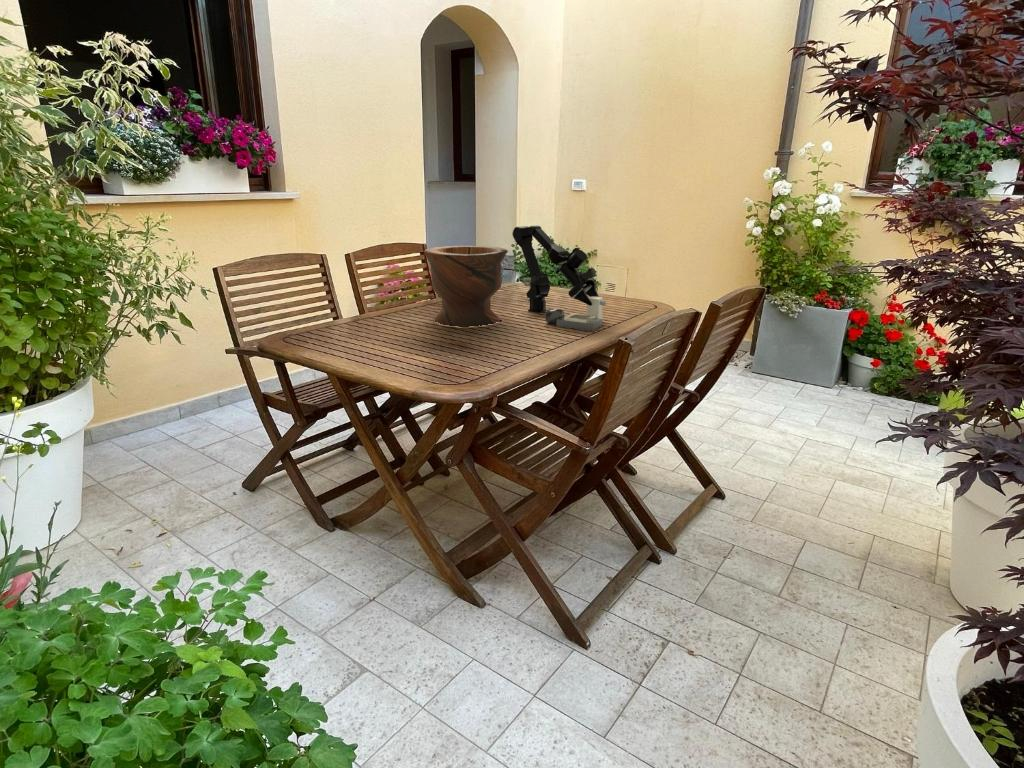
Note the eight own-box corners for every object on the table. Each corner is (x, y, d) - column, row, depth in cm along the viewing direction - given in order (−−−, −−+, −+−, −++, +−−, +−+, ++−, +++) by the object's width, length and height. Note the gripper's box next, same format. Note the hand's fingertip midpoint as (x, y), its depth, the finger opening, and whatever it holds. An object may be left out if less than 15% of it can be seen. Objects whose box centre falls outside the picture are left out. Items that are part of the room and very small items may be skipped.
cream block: (586, 321, 258) (587, 298, 255) (590, 319, 262) (591, 296, 259) (602, 323, 255) (603, 299, 252) (606, 320, 259) (607, 297, 256)
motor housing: (543, 325, 252) (543, 310, 250) (553, 320, 260) (553, 306, 258) (593, 331, 242) (593, 316, 240) (601, 326, 251) (602, 311, 249)
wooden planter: (494, 309, 281) (493, 244, 271) (518, 326, 249) (519, 254, 240) (419, 314, 270) (416, 247, 261) (435, 333, 239) (432, 257, 229)
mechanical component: (542, 298, 303) (542, 278, 300) (521, 298, 304) (522, 278, 300) (542, 297, 306) (542, 277, 303) (521, 297, 306) (522, 277, 303)
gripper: (576, 265, 246) (601, 294, 244) (593, 259, 261) (616, 287, 260) (558, 283, 252) (582, 311, 250) (575, 276, 267) (598, 303, 266)
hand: (595, 303), depth 256 cm, fingers open, 9 cm apart
